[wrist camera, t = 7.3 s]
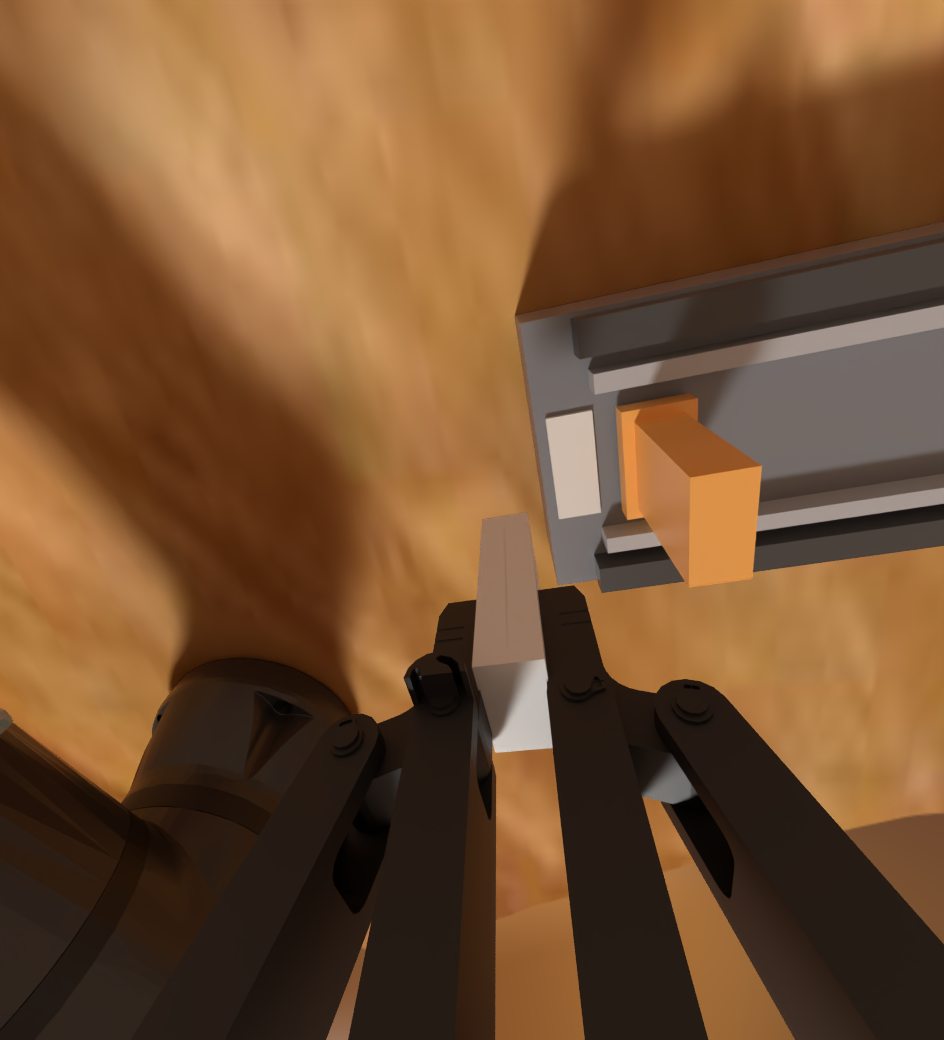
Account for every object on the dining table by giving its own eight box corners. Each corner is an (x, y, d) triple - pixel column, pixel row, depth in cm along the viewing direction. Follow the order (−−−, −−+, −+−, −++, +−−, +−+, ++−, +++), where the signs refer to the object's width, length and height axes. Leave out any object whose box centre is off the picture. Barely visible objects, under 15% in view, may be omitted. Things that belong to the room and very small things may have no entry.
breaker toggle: (621, 510, 22) (673, 601, 16) (615, 406, 20) (672, 464, 13) (687, 499, 21) (767, 588, 15) (688, 392, 19) (782, 446, 13)
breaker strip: (548, 538, 29) (561, 601, 23) (514, 315, 23) (521, 326, 17) (938, 477, 26) (1063, 532, 20) (1012, 206, 20) (1216, 176, 14)
